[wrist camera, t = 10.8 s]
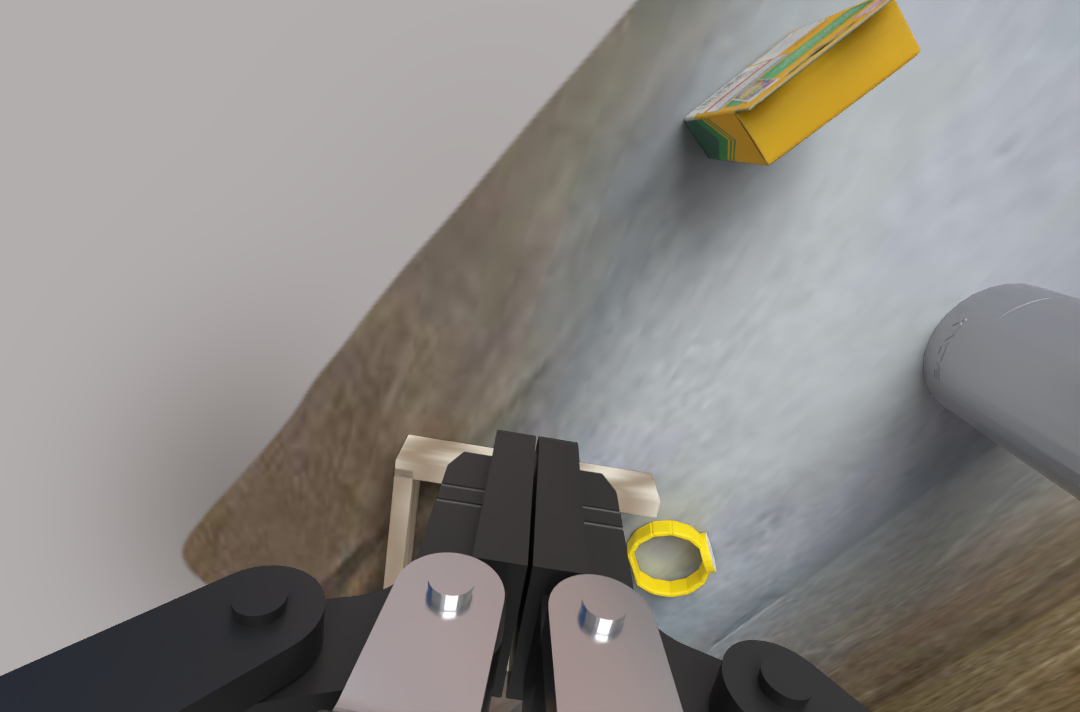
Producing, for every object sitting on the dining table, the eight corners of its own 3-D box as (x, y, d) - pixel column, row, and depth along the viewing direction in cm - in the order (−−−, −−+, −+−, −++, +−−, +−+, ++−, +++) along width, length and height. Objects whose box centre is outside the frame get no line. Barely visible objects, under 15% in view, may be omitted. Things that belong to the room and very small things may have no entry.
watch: (617, 547, 41) (701, 529, 40) (618, 522, 44) (697, 504, 42) (644, 610, 43) (725, 595, 42) (643, 582, 46) (720, 567, 44)
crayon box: (710, 162, 34) (782, 171, 24) (681, 118, 34) (742, 107, 23) (821, 76, 33) (954, 45, 22) (794, 29, 32) (917, -29, 21)
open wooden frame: (652, 473, 42) (660, 502, 38) (604, 648, 47) (608, 685, 44) (408, 434, 41) (395, 460, 38) (389, 615, 47) (377, 651, 43)
